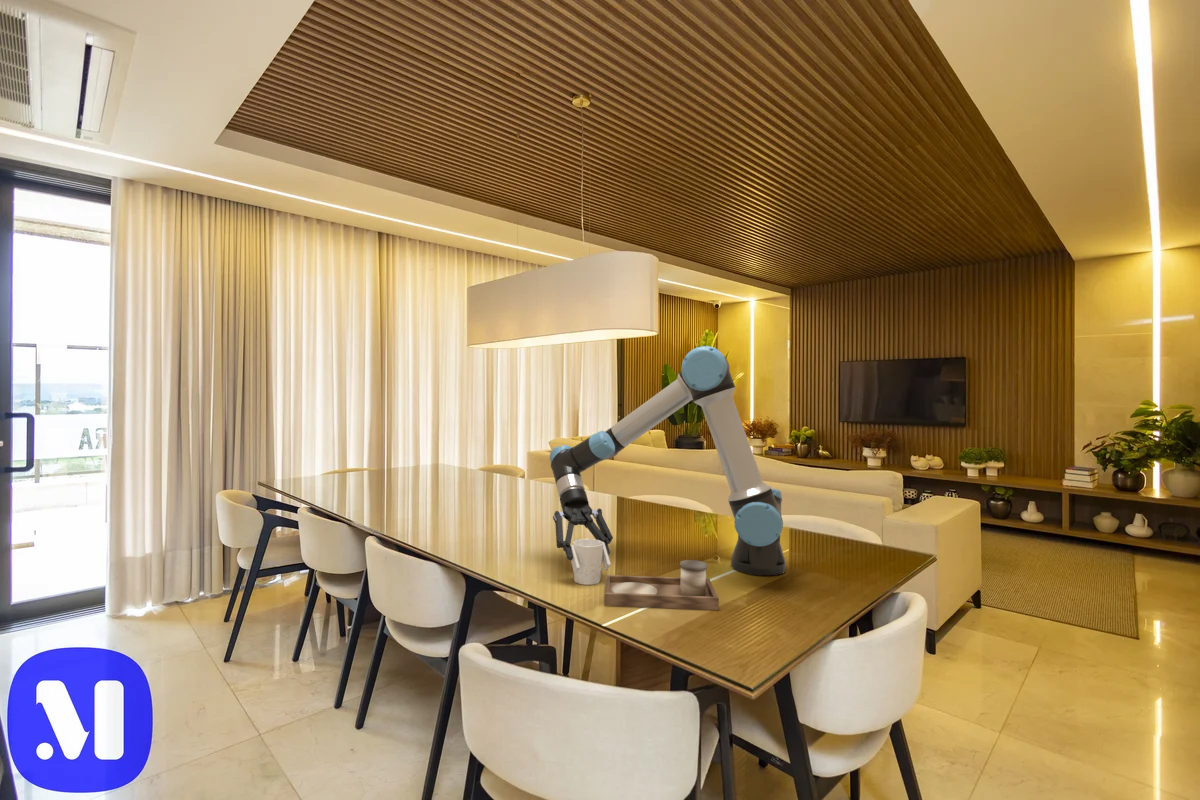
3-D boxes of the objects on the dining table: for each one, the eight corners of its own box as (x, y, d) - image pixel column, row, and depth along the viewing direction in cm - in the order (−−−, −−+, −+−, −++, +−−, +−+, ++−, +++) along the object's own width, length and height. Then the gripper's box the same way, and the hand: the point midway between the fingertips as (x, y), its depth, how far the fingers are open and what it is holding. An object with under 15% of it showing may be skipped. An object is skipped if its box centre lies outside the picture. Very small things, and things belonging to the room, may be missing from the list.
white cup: (598, 587, 144) (600, 547, 144) (568, 584, 146) (569, 545, 146) (604, 577, 152) (606, 540, 152) (576, 574, 154) (577, 537, 154)
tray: (708, 589, 145) (709, 556, 145) (718, 610, 131) (719, 573, 131) (606, 585, 146) (607, 552, 146) (604, 605, 132) (605, 569, 132)
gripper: (602, 500, 167) (624, 572, 152) (533, 504, 159) (550, 580, 144) (610, 485, 162) (633, 557, 147) (539, 488, 154) (557, 565, 139)
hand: (592, 568), depth 146 cm, fingers closed on white cup, 8 cm apart
